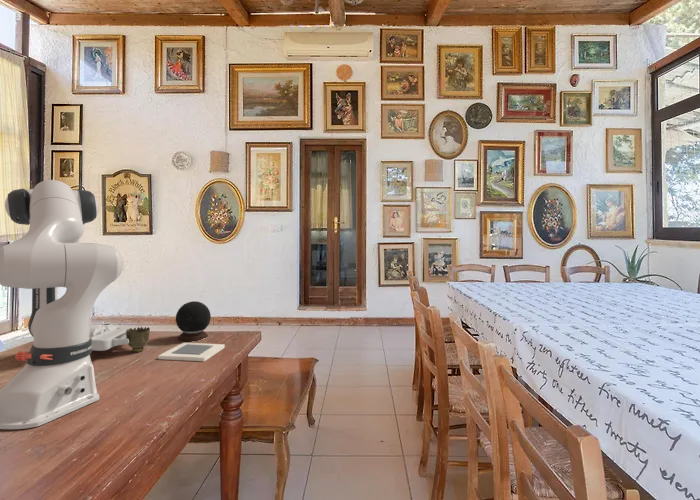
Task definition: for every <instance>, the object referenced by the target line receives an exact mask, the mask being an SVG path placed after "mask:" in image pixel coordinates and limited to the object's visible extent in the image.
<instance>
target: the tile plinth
mask: <svg viewBox="0 0 700 500" xmlns="http://www.w3.org/2000/svg"><path fill="white" fill-rule="evenodd" d="M225 345H226V344H221V343H219V344H218V343H201V342H199V343H197V342H182V343H180V344H178V345H176V346H175V347H172V348H170V349H168V350H166V351H165V352H162V353H161V354H159V355H158V357H157V359H158V360H165V361H166V360H168V361H169V360H171V361H172V360H173V361H187V362H188V361H190V362H205V361H207V360H209V359H210V358H211V357H213V356H214V355H216V354H217V353H219V352H221V351H222V350H223V349H225Z"/></svg>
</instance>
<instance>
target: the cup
mask: <svg viewBox="0 0 700 500" xmlns="http://www.w3.org/2000/svg"><path fill="white" fill-rule="evenodd" d="M150 331H151V330H150V327H149V326H147V327H146V326H145V327H144V328H143V326H141V327H140V326H139V327H137V328H136V327H135V328H134V330H133V329H132V328H130V329H129V330H128V329H127V331H126V335H127V338H130V343H129V344H127V345H128V346H129V347H130V348H132V349H131V351H132V353H140V352H143V351H144V350H145V348H144V347H146V345H148V342H149V340H150Z"/></svg>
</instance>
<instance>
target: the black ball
mask: <svg viewBox="0 0 700 500" xmlns="http://www.w3.org/2000/svg"><path fill="white" fill-rule="evenodd" d="M211 315H212V314H211V311H210V308H209V307H208V306H207V305H206V304H205V303H203V302H201V301H197V300H196V301H189V302H188V301H187V302H186V303H184V304H182V305H181V306H180V308H179V309H178V310H177V311H176V314H175V323H176V326H177V328H178V329H179V330H180V331H181V332H182V333H180V334H179V336H178V337H177V340H178V341H179V342H182V343H193V342H192V341H195V342H199V341H198V340H201V339H203V338H206V337H208V338H209V334H208V333H207V332H206V331H205V330H206V329H207V327H209V325H210V322H211V317H212V316H211ZM201 341H202V340H201Z"/></svg>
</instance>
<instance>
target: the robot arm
mask: <svg viewBox="0 0 700 500" xmlns="http://www.w3.org/2000/svg"><path fill="white" fill-rule="evenodd" d="M99 207H100V206H99V203H98V199H97V198H96V196H95V194H94V193H92V192H91V191H89V190H84V189H77V190H76V189H72V187H70V185H68V184H67V183H65V182H63V181H60V180H56V179H47V180H43V181H40V182H39V183H37V184H36V185H35V186H34V187H33V188H29V189H28V188H27V189H25V188H18V189H13V190H11V191H10V192H9V193H7V196H6V198H5V202H4V209H5V212H6V214H7V216H8V217H9V218H10V220H11V221H13V223H15V224H18V225H25V226H29V229H28V231H27V232H26V233H25V234H24V235H23V236H22V237H21V238H19V239H16V240H15V241H13V242H10V243H8V244H4V245H3V246H1V247H0V285H1V286H2V287H5V288H6V287H7V288H14V289H25V290H27V289H28V290H31V313H30V317H29V319H28V324H27V326H28V329H27V330H28V331H29V333H30V335H31V336H32V337H33V344H32V345H31V347H30V349H29V351H23V350H22V351H18V352H17V353H16V354H15V356H14V357H15V360H16V361H23V362H25V363H26V364H25V365H24V366H23V367H22V368H21V369H20V370H19V371H18V372H17V373H16V374H15V375H14V376H13V377H12V378H11V379H10V380H9V381H8V382H7V383H5V385H3V387H2V388H1V389H0V430H22V429H24V430H25V429H31V428H36V427H40V426H42V425H45V424H47V423H49V422H52V421H54V420H56V419H58V418H60V417H63V416H65V415H67V414H70V413H72V412H74V411H77V410H79V409H82V408H84V407H86V406H87V405H90V404H92V403H95V402H97V401H100V394H99V393H98V389H97V385H96V378H95V369H94V365H93V362H92V359H91V354H92V352H94V351H95V352H96V351H97V352H99V351H100V352H101V351H107V350H110V349H111V348H114V347H117V346H122V345H128V344H129V343H130V338H127V335H126V331H127V329H128V330H129V329H130V328H132V329H133V330H134V328H136V327H135V326H134V325H120V324H119V325H118V324H117V325H116V324H115V325H113V323H105V324H91V319H92V312H93V308H94V307H93V306H94V304H95V302H96V300H97V299H98V297H99V296H100V294H101V293H102V292H103V291H104V289H105V288H107V287H108V286H109V285H111V284H112V283H114V282H115V281H116V280H117V279H118V278H119V277H120V275H121V274H122V271H123V269H124V258H123V256H122V254H121V252H120V251H119V249H117V248H116V247H115V246H112V245H108V244H103V243H102V244H101V243H95V242H84V243H83V242H80V238H81V237H83V234H84V230H85V227H84V225H85V224H87V223H91V222H93V221H94V220H96V218H97V216H98V214H99V210H100V208H99ZM58 288H66V289H65V290H66V291H65V293H64V294H63V295H62V296H61V297H59V298H58Z"/></svg>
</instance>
